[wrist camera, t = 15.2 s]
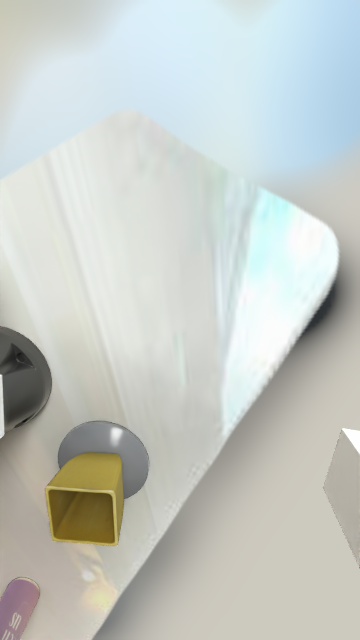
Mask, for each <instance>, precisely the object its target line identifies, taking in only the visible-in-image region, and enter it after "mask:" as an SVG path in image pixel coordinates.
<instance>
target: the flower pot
mask: <svg viewBox="0 0 360 640" xmlns="http://www.w3.org/2000/svg"><path fill="white" fill-rule="evenodd" d="M45 496H46V502H47V509H48V516H49V525H50V533H51V537H52V540H53V541H56V542H71V543H87V544H96V545H106V546H117V545H118V541H119V535H120V529H121V522H122V516H123V507H124V498H123V480H122V460H121V458H120V456H119V455H118V454H115V453H97V452H86V453H83V454H80V455H77V456H75V457H74V458H72V459H70V460H69V461H68V462H67V463H66V464H65V465H64V466H63V467H62V468H61V469H60V471H59V472H58V473H57V474H56V475H55V477H54V478H53V479H52V480H51V482H50V483H49V484H48V485H47V486H46V488H45Z"/></svg>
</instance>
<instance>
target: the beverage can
mask: <svg viewBox="0 0 360 640" xmlns="http://www.w3.org/2000/svg"><path fill="white" fill-rule="evenodd" d="M38 599H39V587H38V585H37V584H36V583H35V582H34V581H33V580H31V579H28V578H24V577H21V578H17V579H15V580H13V581H12V582H11V583H10V584H9V585H8V587H7V589H6V591H5V592H4V594H3V596H2V598H1V600H0V640H20V638H21V636H22V634H23V631H24V629H25V627H26V625H27V623H28V620H29V618H30V616H31V614H32V612H33V610H34V607H35V605H36V603H37V601H38Z"/></svg>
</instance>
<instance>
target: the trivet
mask: <svg viewBox="0 0 360 640" xmlns="http://www.w3.org/2000/svg"><path fill="white" fill-rule="evenodd" d="M86 452H97V453H115V454H118V455H119V456H120V458H121V460H122V480H123V498H124V499H126V498H128V497H130V496H132V495H134V494H135V493H136V492H138V491H139V490H140V489H141V487H142V486H143V485H144V483H145V481H146V478H147V475H148V470H149V458H148V454H147V451H146V449H145V447H144V445H143V444H142V442H141V441H140V440H139V438H138V437H137V436H136V435H134V434H133V433H132V432H131V431H129V430H128V429H126V428H124V427H122V426H120V425H118V424H115V423H111V422H106V421H92V422H87V423H83V424H81V425H79V426H77V427H75V428H74V429H72V430H71V431H70V432H69V433H68V434H67V435H66V437H65V438H64V440H63V441H62V443H61V445H60V448H59V452H58V463H59V467H60V469H61V468H62V467H63V466H64V465H65V464H66V463H67V462H68V461H69V460H70V459H72V458H74V457H75V456H77V455H80V454H83V453H86Z"/></svg>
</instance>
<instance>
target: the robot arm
mask: <svg viewBox="0 0 360 640" xmlns="http://www.w3.org/2000/svg"><path fill="white" fill-rule="evenodd" d="M50 391H51V374H50V370H49V367H48V364H47V362H46V360H45V358H44V356H43V355H42V353H41V352H40V350H39V349H38V348H37V347H36V346H35V345H34V344H33V343H32V342H31V341H30V340H29V339H27V338H26V337H25V336H23V335H22V334H20V333H18V332H16V331H14V330H11V329H8V328H5V327H1V326H0V439H1V438H2V437H3V436H4V433H6V432H8V431H10V430H12V429H13V428H16V427H19V426H21V425H23V424H25V423H27V422H28V421H29V420H31V419H32V418H33V417H34V416H35V415H36V414H37V413H38V412H39V411H40V410H41V409H42V408H43V406H44V405H45V404H46V402H47V400H48V398H49V395H50ZM323 489H324V491H325V493H326V495H327V497H328V499H329V502H330V504H331V506H332V508H333V511H334V513H335V515H336V517H337V519H338V522H339V524H340V526H341V528H342V530H343V533H344V535H345V537H346V539H347V541H348V543H349V546H350V548H351V550H352V552H353V554H354V557H355V559H356V561H357V563H358V565H359V568H360V431H356V430H349V429H342V430H341V433H340V436H339V439H338V442H337V445H336V449H335V452H334V455H333V458H332V461H331V464H330V467H329V471H328V474H327V477H326V480H325V483H324V486H323Z"/></svg>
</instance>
